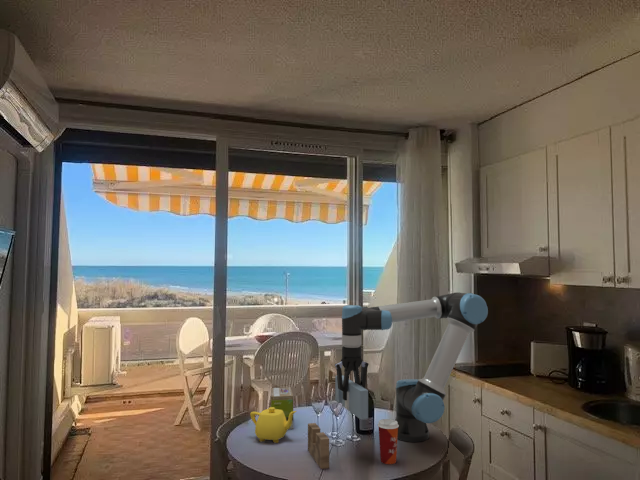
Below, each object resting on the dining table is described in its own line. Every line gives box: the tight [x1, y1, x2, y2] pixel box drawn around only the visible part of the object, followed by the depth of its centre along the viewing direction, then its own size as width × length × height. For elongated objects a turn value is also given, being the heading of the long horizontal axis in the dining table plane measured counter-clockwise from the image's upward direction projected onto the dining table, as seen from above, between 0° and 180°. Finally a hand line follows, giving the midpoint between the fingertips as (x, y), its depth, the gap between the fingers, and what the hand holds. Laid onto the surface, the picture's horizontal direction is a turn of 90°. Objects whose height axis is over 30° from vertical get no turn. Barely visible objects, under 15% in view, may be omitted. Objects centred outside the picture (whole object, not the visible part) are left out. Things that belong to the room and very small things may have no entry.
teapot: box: [249, 406, 297, 444], centre depth 194 cm, size 13×20×12 cm
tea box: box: [270, 386, 294, 430], centre depth 212 cm, size 15×10×15 cm
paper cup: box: [377, 418, 399, 465], centre depth 171 cm, size 8×8×14 cm
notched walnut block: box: [307, 422, 330, 470], centre depth 173 cm, size 18×3×10 cm, turn 16°
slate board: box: [334, 374, 369, 420], centre depth 181 cm, size 26×3×10 cm, turn 18°
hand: (351, 408), depth 179 cm, fingers closed on slate board, 3 cm apart
